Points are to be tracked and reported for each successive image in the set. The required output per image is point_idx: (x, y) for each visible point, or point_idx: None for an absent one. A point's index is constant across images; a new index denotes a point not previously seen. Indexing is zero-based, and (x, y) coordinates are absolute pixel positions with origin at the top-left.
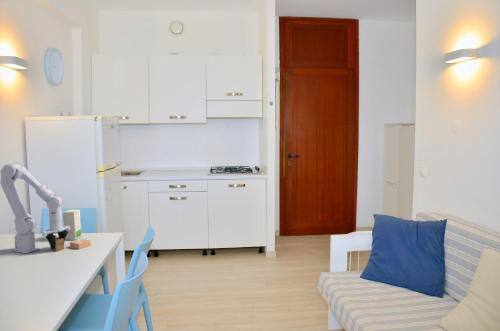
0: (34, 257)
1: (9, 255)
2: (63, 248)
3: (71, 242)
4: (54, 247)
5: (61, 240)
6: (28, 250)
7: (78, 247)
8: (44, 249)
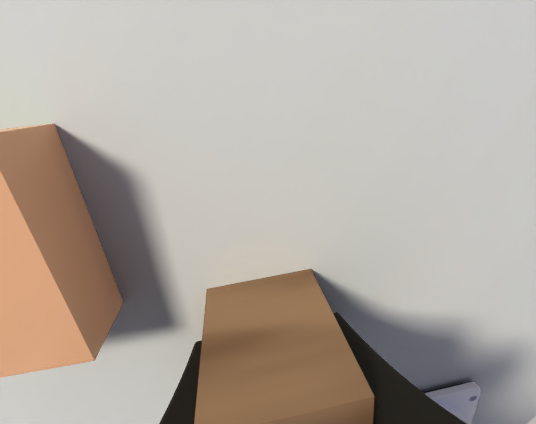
0: (531, 246)
1: (526, 403)
2: (218, 293)
3: (76, 341)
4: None
5: (248, 397)
6: (447, 410)
7: (41, 143)
8: None
